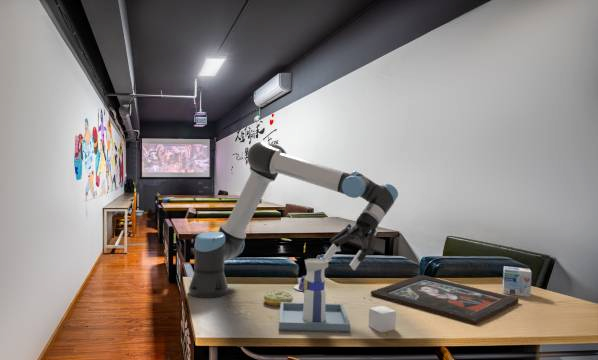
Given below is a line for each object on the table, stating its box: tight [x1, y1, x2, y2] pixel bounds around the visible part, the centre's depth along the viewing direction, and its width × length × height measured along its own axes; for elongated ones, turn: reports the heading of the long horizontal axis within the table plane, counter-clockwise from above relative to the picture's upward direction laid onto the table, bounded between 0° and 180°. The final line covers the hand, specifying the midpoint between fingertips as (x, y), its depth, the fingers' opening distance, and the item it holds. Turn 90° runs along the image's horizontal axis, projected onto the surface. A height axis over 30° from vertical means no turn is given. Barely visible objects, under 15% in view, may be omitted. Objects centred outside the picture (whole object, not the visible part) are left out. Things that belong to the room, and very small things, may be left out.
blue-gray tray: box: [278, 301, 351, 334], centre depth 140 cm, size 22×20×3 cm
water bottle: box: [302, 242, 329, 322], centre depth 140 cm, size 8×9×25 cm
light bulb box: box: [502, 265, 533, 298], centre depth 182 cm, size 11×7×11 cm, turn 68°
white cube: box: [368, 305, 397, 333], centre depth 136 cm, size 6×6×6 cm
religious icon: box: [370, 274, 519, 326], centre depth 170 cm, size 40×45×3 cm
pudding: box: [293, 275, 306, 292], centre depth 178 cm, size 12×12×5 cm
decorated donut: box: [263, 290, 294, 307], centre depth 158 cm, size 10×11×4 cm
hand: (338, 263), depth 146 cm, fingers open, 13 cm apart
